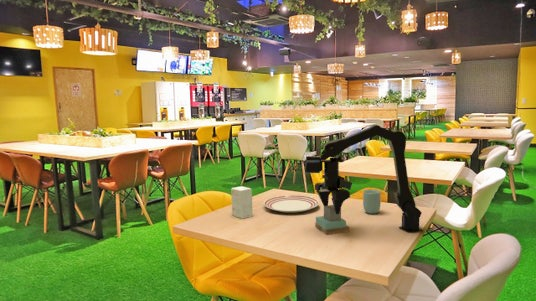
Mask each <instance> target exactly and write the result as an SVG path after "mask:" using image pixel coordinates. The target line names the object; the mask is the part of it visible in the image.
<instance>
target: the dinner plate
mask: <svg viewBox="0 0 536 301" xmlns="http://www.w3.org/2000/svg"><path fill="white" fill-rule="evenodd" d="M319 205H320V200H318V199H317V198H315V197H312V196H309V195H301V194H285V195H277V196H273V197H270V198H267V199H265V200H264V201H263V206H264V207H265V208H268V209H270V210H272V211H276V212H279V213H283V214H284V213H286V214H289V213H290V214H292V213H293V214H294V213H296V214H297V213H303V212H306V211H310V210H312V209H314V208H316V207H318V206H319Z"/></svg>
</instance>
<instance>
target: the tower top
mask: <svg viewBox="0 0 536 301" xmlns="http://www.w3.org/2000/svg"><path fill="white" fill-rule="evenodd" d="M315 223H317V224H318V225H319V226H321V227H322V228H324V229H325V230H327V229H335V228H343V227H346V225H347V221H346V220H345V219H343V218H342V217H341V220H336V221H328V220H326V219H325V218H324V215H322V216H316V217H315Z"/></svg>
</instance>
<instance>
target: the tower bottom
mask: <svg viewBox="0 0 536 301" xmlns="http://www.w3.org/2000/svg"><path fill="white" fill-rule="evenodd" d="M314 224H315V226H314V228H316V229H317V230H318V231H320V232H322V233H323V234H325V235H335V234H341V233H348V232H350V226H348V225H347V224H346V227H343V228H335V229H327V230H325V229H324V228H322V227H321V226H319V225H318V224H317V223H316V222H315V223H314Z"/></svg>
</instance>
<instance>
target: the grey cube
mask: <svg viewBox="0 0 536 301" xmlns="http://www.w3.org/2000/svg"><path fill="white" fill-rule="evenodd" d="M323 216H324V218H325V219H326V220H328V221H336V220H341V218H342V208H341V209H340V212H339V214H336V212H335V209H334V206H333V204H330V205H329V204H328V206H324V205H323Z"/></svg>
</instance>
